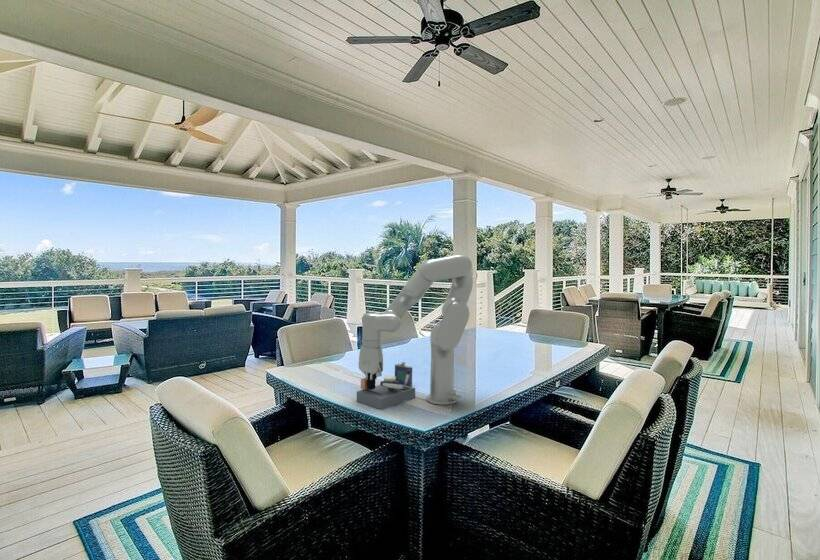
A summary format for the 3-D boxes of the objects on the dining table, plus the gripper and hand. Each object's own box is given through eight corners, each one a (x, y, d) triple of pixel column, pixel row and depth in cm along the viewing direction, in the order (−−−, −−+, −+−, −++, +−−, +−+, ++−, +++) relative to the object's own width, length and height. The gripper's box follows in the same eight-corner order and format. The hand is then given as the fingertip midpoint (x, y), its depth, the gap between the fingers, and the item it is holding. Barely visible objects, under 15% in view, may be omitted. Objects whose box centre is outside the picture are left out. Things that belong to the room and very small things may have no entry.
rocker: (402, 388, 171) (403, 386, 171) (389, 387, 165) (389, 384, 165) (395, 386, 174) (395, 384, 174) (382, 385, 168) (382, 382, 168)
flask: (413, 385, 192) (413, 362, 191) (409, 387, 189) (410, 363, 189) (396, 382, 196) (396, 360, 196) (392, 384, 194) (392, 361, 194)
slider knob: (370, 388, 172) (370, 378, 171) (364, 389, 169) (364, 379, 169) (366, 387, 173) (366, 377, 173) (360, 388, 171) (360, 378, 171)
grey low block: (415, 397, 175) (415, 384, 175) (381, 409, 160) (381, 395, 160) (390, 390, 184) (391, 377, 184) (356, 401, 169) (356, 387, 169)
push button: (398, 384, 178) (398, 377, 178) (389, 386, 175) (389, 379, 175) (389, 381, 182) (389, 374, 182) (381, 384, 178) (381, 377, 178)
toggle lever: (408, 387, 173) (413, 370, 175) (404, 386, 172) (410, 368, 174) (404, 386, 175) (409, 369, 177) (400, 385, 173) (406, 367, 175)
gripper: (352, 342, 170) (351, 387, 171) (378, 347, 160) (377, 394, 161) (365, 339, 176) (365, 383, 177) (391, 344, 166) (390, 390, 167)
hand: (371, 388), depth 169 cm, fingers closed
